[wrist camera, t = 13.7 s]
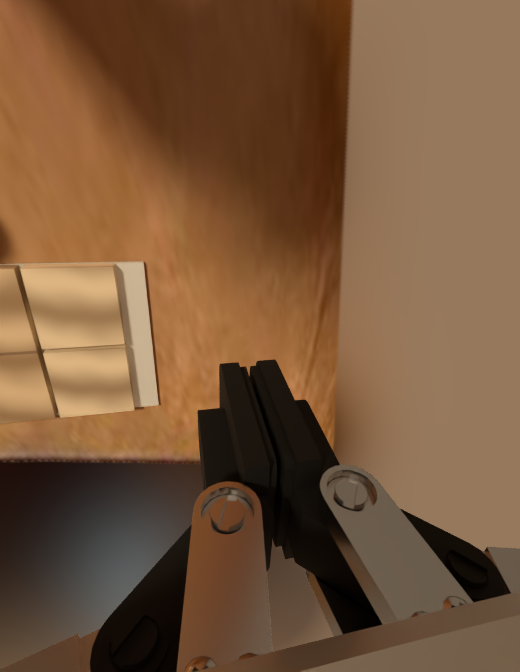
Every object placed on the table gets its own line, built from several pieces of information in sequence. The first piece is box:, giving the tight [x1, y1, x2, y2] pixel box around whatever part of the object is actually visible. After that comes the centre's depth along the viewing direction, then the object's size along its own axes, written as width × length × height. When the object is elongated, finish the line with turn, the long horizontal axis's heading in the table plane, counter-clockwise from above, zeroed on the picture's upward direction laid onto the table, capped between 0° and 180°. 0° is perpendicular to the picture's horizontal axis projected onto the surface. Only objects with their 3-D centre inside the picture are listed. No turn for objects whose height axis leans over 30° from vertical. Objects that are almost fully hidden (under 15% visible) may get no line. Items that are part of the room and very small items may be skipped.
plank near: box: [20, 263, 126, 349], centre depth 37 cm, size 8×8×1 cm
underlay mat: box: [0, 261, 159, 415], centre depth 39 cm, size 18×20×1 cm
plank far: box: [43, 343, 135, 418], centre depth 41 cm, size 8×8×1 cm
